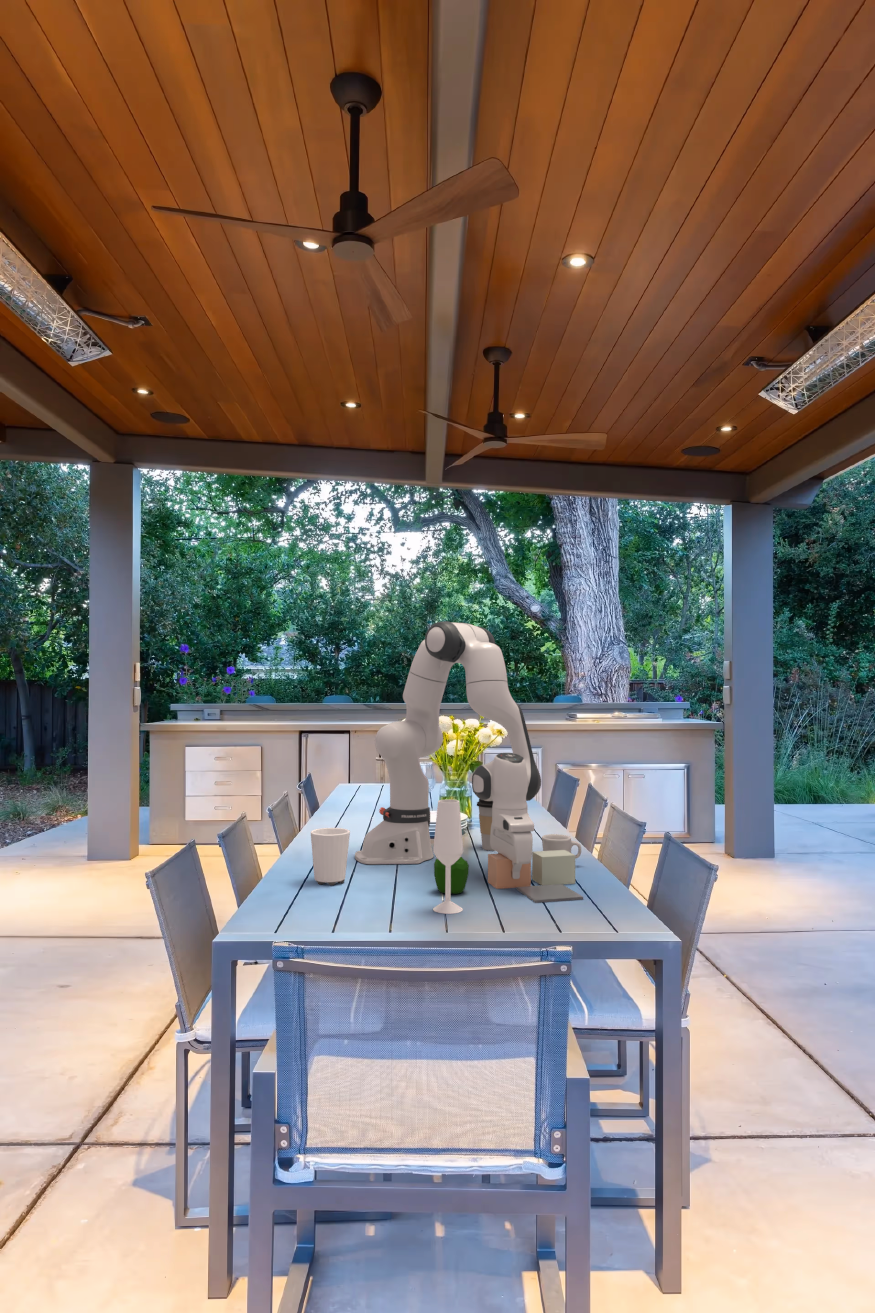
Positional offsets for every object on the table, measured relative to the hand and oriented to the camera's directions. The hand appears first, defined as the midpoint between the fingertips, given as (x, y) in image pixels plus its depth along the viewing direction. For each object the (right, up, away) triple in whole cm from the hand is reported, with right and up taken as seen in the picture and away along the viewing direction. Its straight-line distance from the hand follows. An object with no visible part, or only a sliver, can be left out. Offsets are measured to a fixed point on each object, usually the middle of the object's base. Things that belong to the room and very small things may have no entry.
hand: (509, 874), depth 203 cm
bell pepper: (-15, -2, -7) cm, 17 cm away
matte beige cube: (+11, -3, +3) cm, 12 cm away
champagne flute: (-16, -2, -22) cm, 27 cm away
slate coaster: (+9, -2, -9) cm, 13 cm away
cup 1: (-45, -2, +1) cm, 45 cm away
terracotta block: (0, -3, 0) cm, 3 cm away
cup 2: (+16, -3, +20) cm, 26 cm away
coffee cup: (-2, -4, +42) cm, 42 cm away
